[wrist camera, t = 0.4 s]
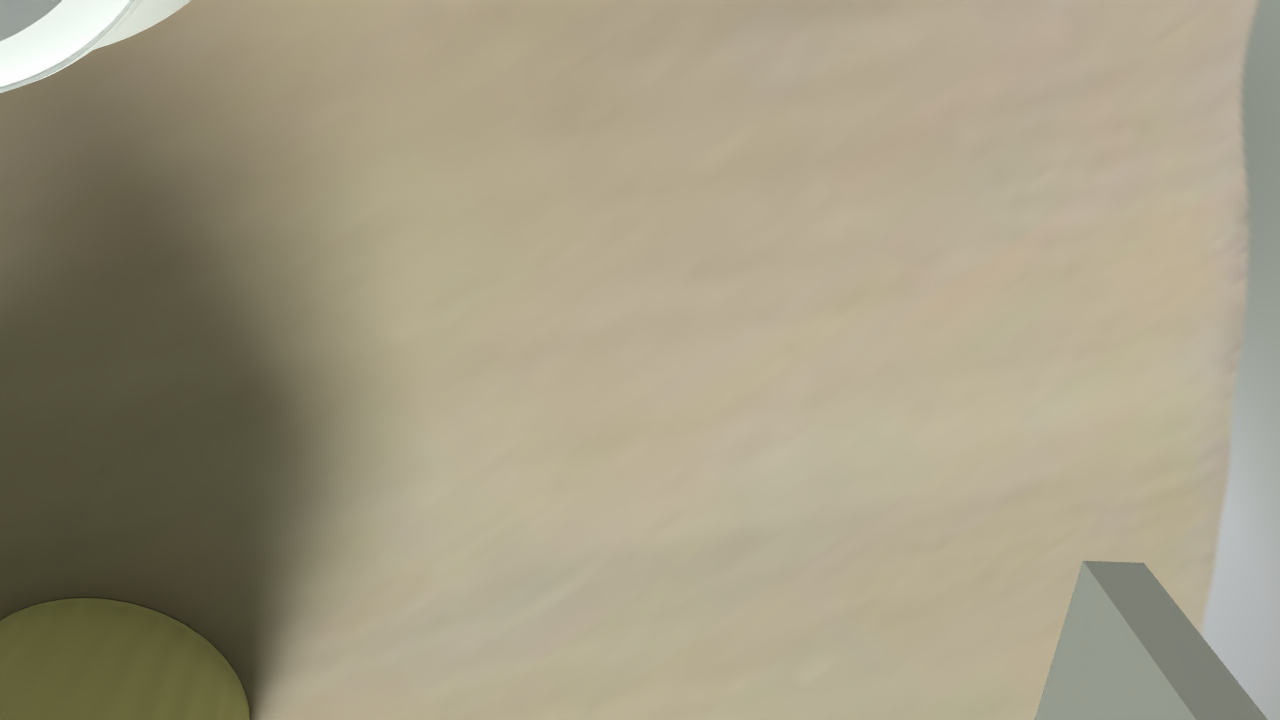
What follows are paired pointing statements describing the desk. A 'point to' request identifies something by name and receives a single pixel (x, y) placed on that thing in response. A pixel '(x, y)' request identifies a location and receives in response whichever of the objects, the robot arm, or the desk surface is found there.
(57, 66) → the jar
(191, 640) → the potted cactus
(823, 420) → the desk surface
